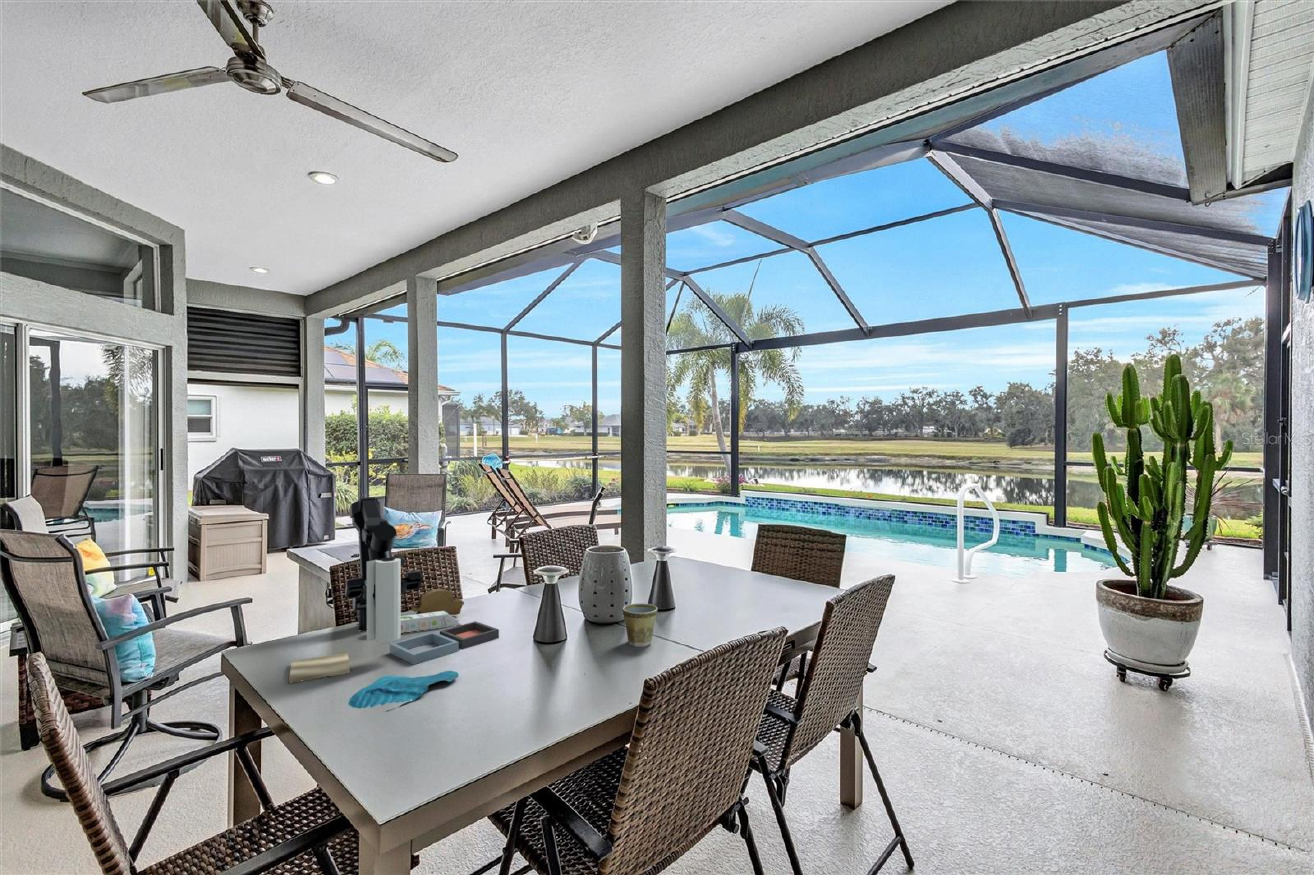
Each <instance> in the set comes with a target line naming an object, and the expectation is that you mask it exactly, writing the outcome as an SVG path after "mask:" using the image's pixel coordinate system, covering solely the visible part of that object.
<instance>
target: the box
mask: <svg viewBox="0 0 1314 875" xmlns="http://www.w3.org/2000/svg"><path fill="white" fill-rule="evenodd" d="M457 621H459V622H457ZM455 625H462V624H461V623H460V620H459V619H457V618H456V617H454V615H453V616H452V615H450V614H448V613H447V612H445V611H438V612H431V613H423V614H416V613H415V614H408V615H402V616H401V633H403V632H409V631H416V630H424V631H429V630H428V629H431V630H437V629H436V628H438V629H443V628H442V627H446V628H451V627H450V626H453V627H456V626H455ZM403 634H404V633H403Z"/></svg>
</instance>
